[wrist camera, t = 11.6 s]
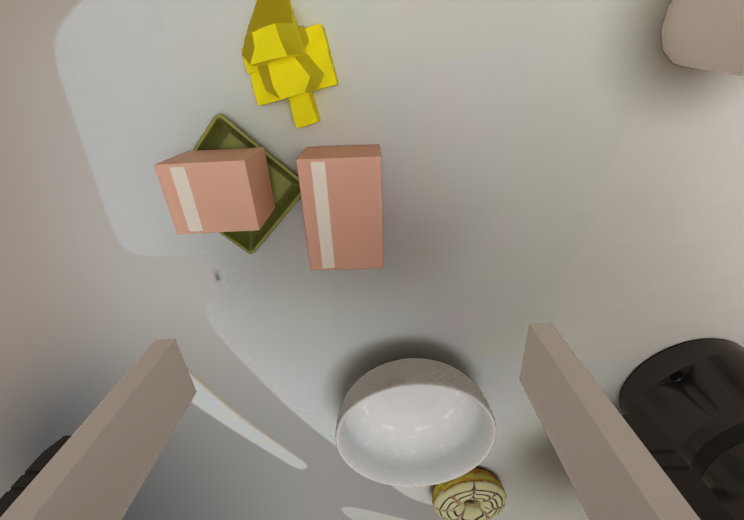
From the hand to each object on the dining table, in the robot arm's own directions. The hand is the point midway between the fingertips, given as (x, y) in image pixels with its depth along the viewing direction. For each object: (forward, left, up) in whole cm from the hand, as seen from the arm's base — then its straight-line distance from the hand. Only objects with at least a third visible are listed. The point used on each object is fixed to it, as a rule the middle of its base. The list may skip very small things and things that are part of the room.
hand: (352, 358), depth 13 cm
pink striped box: (0, +1, -20) cm, 20 cm away
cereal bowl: (-24, -5, -20) cm, 32 cm away
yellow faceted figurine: (+10, +4, -20) cm, 23 cm away
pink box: (+2, +10, -18) cm, 21 cm away
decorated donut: (-45, -14, -20) cm, 52 cm away
